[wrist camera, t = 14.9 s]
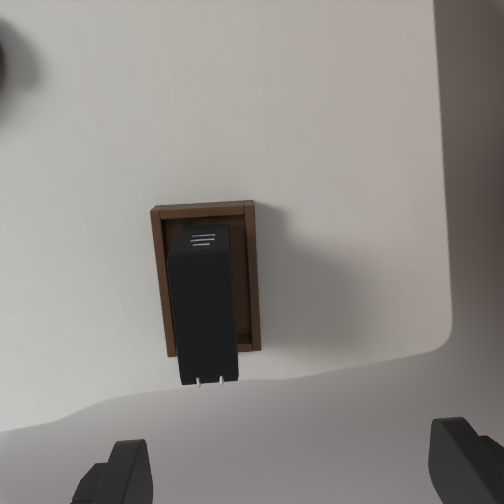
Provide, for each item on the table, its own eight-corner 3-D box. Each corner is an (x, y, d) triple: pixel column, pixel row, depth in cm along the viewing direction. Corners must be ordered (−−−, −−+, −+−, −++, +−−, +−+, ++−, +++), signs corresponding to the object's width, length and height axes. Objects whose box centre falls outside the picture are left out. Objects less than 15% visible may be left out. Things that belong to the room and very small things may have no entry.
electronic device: (229, 221, 36) (229, 252, 26) (236, 323, 39) (239, 385, 29) (181, 224, 36) (164, 256, 26) (192, 327, 39) (180, 390, 29)
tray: (252, 199, 36) (254, 204, 34) (259, 337, 40) (261, 350, 38) (154, 205, 36) (149, 210, 33) (171, 344, 40) (167, 357, 37)
